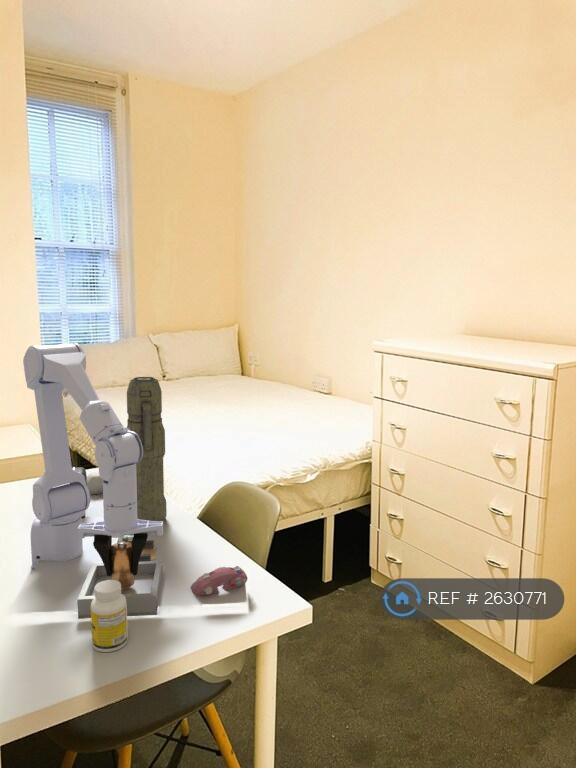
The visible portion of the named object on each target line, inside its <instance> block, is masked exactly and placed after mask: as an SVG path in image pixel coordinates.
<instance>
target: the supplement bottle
mask: <svg viewBox="0 0 576 768" xmlns="http://www.w3.org/2000/svg"><path fill="white" fill-rule="evenodd" d="M93 588H94V589H93V590H94V594H93V595H94V596H95V598H94V599H93V600H92V602H91V618H90V620H91V621H90V622H91V623H90V624H91V637H92V638H91V639H92V646H93V648H94V649H95V650H96V651H97V652H100V653H111V652H115V651H116V652H117V651H118V650H120V649H122V648H123V647H124V646H126V644H127V642H128V640H129V639H128V638H129V633H128V632H129V631H128V629H129V628H128V616H127V604H126V598H125V596H124V595H123V594H122V589H121V583H120V582H119V581H116V580H111V579H106V580H102V581H100V582H98V583H97V584H96V583H95V585H94V587H93Z"/></svg>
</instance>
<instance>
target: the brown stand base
mask: <svg viewBox="0 0 576 768" xmlns="http://www.w3.org/2000/svg"><path fill="white" fill-rule="evenodd" d="M133 537H134V536H128V535H125V536H124V537H122V538H118V539H117V542H116V543H119V542H129V543H132V539H133ZM156 554H157V547H156V548H155V541H154V539H152V540H147V542H146V544H145V547H144V549H143V551H142V553H141V556H140V559H139V562H143V561H156V560H155V559H156Z"/></svg>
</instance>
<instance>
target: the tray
mask: <svg viewBox="0 0 576 768" xmlns="http://www.w3.org/2000/svg"><path fill="white" fill-rule="evenodd" d="M163 568H164V567H163V560H151V561H143V562H139V565H138V572H137V575H136V576H139V575H142V576H143V575H153V580H152V586H151V590H150V592H148V593H147V592H145V593H127V594H126V593H124V594H123V595H124V596H125V598H126V604H127V617H133V616H134V617H136V616H138V617H139V616H154V615H155V616H157V613H158V607H159V606H158V599H159V594H160V588H161V582H162V577H163V570H164V569H163ZM98 577H108V576H107V573H106V570H105V566H104V564H103V562H97V563H95V562H94V563H93V562H92V564H91V567H90V569H89V571H88V574H87V576H86V578H85V580H84V583H83V584H82V587H81V590H80V592H79V594H78V597H77V603H76V604H77V617H78V618H77V619H91V602H92V600H93V599H94V598H95V595H91V593H92V592H93V590H94V589H93V588H94V587H95V585H96V581H97V578H98Z"/></svg>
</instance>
